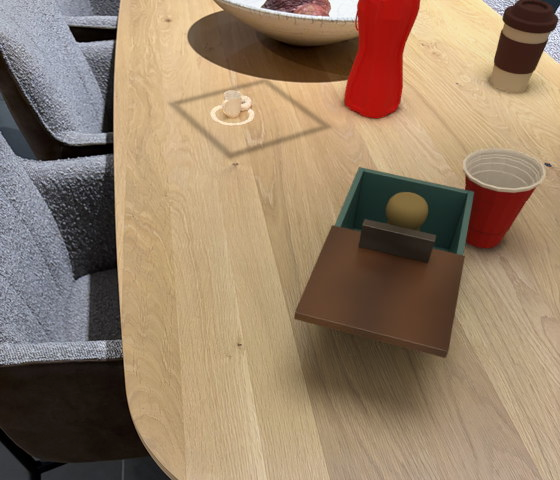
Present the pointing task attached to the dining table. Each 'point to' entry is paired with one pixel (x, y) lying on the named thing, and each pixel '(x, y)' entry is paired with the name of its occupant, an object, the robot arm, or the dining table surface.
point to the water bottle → (380, 56)
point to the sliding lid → (385, 287)
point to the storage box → (382, 186)
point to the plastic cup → (498, 191)
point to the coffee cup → (521, 43)
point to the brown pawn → (406, 211)
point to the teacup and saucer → (234, 107)
